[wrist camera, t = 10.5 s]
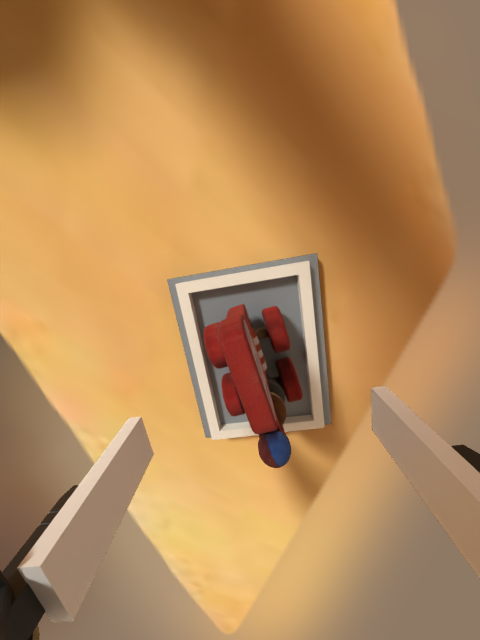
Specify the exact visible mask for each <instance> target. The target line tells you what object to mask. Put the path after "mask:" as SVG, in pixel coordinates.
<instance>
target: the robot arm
mask: <svg viewBox="0 0 480 640" xmlns="http://www.w3.org/2000/svg"><path fill="white" fill-rule="evenodd" d="M371 406H372V430H373V432H374V433H375V434H376V436H377V437H378V438H379V440H380V441H381V443H382V444H383V445H384V447H385V448H386V450H387V451H388V452H389V454H390V455H391V457H392V458H393V459H394V461H395V462H396V464H397V465H398V466H399V468H400V469H401V470H402V472H403V473H404V475H405V476H406V477H407V479H408V480H409V481H410V483H411V484H412V486H413V487H414V488H415V490H416V491H417V492H418V494H419V495H420V497H421V498H422V499H423V501H424V502H425V503H426V505H427V506H428V508H429V509H430V511H431V512H432V513H433V515H434V516H435V518H436V519H437V520H438V522H439V523H440V524H441V526H442V527H443V528H444V530H445V531H446V533H447V534H448V535H449V537H450V538H451V540H452V541H453V542H454V544H455V545H456V547H457V548H458V549H459V551H460V552H461V554H462V555H463V556H464V558H465V559H466V560H467V562H468V563H469V565H470V566H471V567H472V569H473V570H474V572H475V573H476V574H477V576H478V577H479V578H480V454H479V453H477V452H475V451H473V450H472V449H470V448H468V447H466V446H464V445H456V446H450V445H449V444H448V443H447V442H446V441H444V439H443V438H441V437H440V436H439V435H438V434H437V433H436V432H435V431H434V430H433V429H432V428H431V427H430V426H429V425H427V424H426V423H425V422H424V421H423V420H422V419H421V418H420V417H419V416H418V415H417V414H416V413H415V412H413V411H412V410H411V409H410V408H409V407H408V406H407V405H406V404H405V403H404V402H402V400H400V399H399V398H398V397H397V396H396V395H395V394H394V393H393V392H392V391H391V390H390V389H389V388H388V387H386V386H380V387H372V388H371ZM153 454H154V453H153V450H152V447H151V445H150V442H149V439H148V436H147V433H146V430H145V427H144V424H143V421H142V418H141V417H134V418H129V419H128V420H127V421H126V423H125V424H124V425H123V427H122V428H121V429H120V431H119V432H118V433H117V435H116V436H115V437H114V439H113V440H112V441H111V443H110V444H109V445H108V447H107V448H106V449H105V451H104V452H103V453H102V455H101V456H100V457H99V459H98V460H97V461H96V463H95V464H94V465H93V467H92V468H91V470H90V471H89V472H88V474H87V475H86V476H85V478H84V479H83V480H82V482H81V483H80V484H79V485H75V486H73V487H72V488H71V489H70V490H69V491H67V492H66V493H65V494H64V495H63V496H62V497H61V498H60V499H59V501H58V502H57V503H56V505H55V506H54V507H53V508H52V509H51V511H50V513H49V514H47V516H46V517H45V518H44V520H43V521H42V522H41V525H40V526H38V527H37V529H36V530H35V531H34V533H33V534H32V535H31V536H30V538H29V539H28V540H27V541H26V543H25V544H24V545H23V546H22V548H21V549H20V550H19V552H18V553H17V554H16V556H15V557H14V558H13V559H12V561H11V562H10V563H9V565H8V566H7V567H6V568H5V570H4V571H3V572H1V571H0V640H39V635H40V634H39V628H38V626H37V625H38V623H39V621H40V619H41V618H42V616H43V614H44V613H46V614H47V616H48V617H49V619H50V620H51V622H52V623H53V622H71V621H73V620H74V618H75V616H76V614H77V612H78V610H79V608H80V606H81V604H82V601H83V599H84V597H85V595H86V593H87V591H88V589H89V587H90V585H91V583H92V581H93V579H94V576H95V574H96V573H97V570H98V568H99V566H100V564H101V562H102V560H103V558H104V556H105V554H106V551H107V550H108V548H109V545H110V543H111V541H112V539H113V537H114V535H115V533H116V531H117V529H118V527H119V525H120V523H121V521H122V519H123V517H124V514H125V512H126V510H127V508H128V506H129V504H130V502H131V500H132V498H133V496H134V494H135V492H136V490H137V487H138V485H139V483H140V481H141V479H142V477H143V475H144V473H145V471H146V469H147V467H148V465H149V463H150V461H151V458H152V456H153Z"/></svg>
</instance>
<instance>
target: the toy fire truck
mask: <svg viewBox="0 0 480 640" xmlns="http://www.w3.org/2000/svg"><path fill="white" fill-rule="evenodd" d="M262 316H263V320H264V323H265V327H261V328H257V329H253V327H252V324H251V321H250V318H249V315H248V312H247V309H246V307H245V305H244V304H241V305H238V306H235V307H233V308H230V309H229V310H228V312H227V316H226V319H223V320H222V321H221V322H217V323H214V324H211V325H208V326H206V327H205V329H204V343H205V347H206V351H207V354H208V357H209V359H210V361H211V363H212V364H213V366H214V367H215V368H217V369H221V368H224V367H228V368H229V370H230V372H229V373H226V374H224V375H223V377H222V382H221V384H222V393H223V399H224V402H225V406H226V408H227V410H228V412H229V414H230V415H231V416H239V415H243V414H245V413H246V416H247V419H248V421H249V424H250V427H251V429H252V431H253V432H254V433H255V434H258V435H259V438H260V439H259V442H258V449H259V455H260V457H261V459H262V460H263V462H264V463H265V464H267V465H268V466H270V467H273V468H279V467H282V466H283V465H285V464H286V463H287V462H288V460H289V458H290V455H291V446H290V442H289V439H288V437H287V436H286V434H285V430H284V426H283V424H284V422H285V419H286V407H285V396H286V399H287V401H288V402H290V403H291V402H295V401H298V400H301V399H302V397H303V394H302V390H301V386H300V383H299V379H298V376H297V373H296V370H295V367H294V365H293V362H292V360H291V359H290V358H289V357H285V358H282V359H279V360H277V361H276V362H275V363H276V367H277V370H278V373H279V376H277V377H273V378H270V377H269V376H268V373H267V365H266V362H265V359H264V356H263V353H262V350H261V346H260V343H259V340H258V339H263V338H266V337H269V339H270V342H271V345H272V348H273V350H274V352H275V353H279V352H283V351H287V350H289V349H290V340H289V336H288V333H287V329H286V326H285V323H284V320H283V317H282V315H281V312H280V310H279V308H278V307H277V306H272V307H269V308H265V309H263V310H262Z"/></svg>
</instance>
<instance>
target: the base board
mask: <svg viewBox="0 0 480 640" xmlns="http://www.w3.org/2000/svg"><path fill="white" fill-rule="evenodd" d="M167 281H168V285H169V289H170V293H171V297H172V302H173V306H174V310H175V314H176V318H177V322H178V326H179V330H180V334H181V338H182V342H183V346H184V351H185V355H186V359H187V363H188V367H189V371H190V375H191V379H192V383H193V387H194V391H195V395H196V399H197V404H198V408H199V412H200V416H201V420H202V424H203V428H204V432H205V436H206V438H210V437H212V440H217V439H226V438H236V437H245V436H254V435H258V434H255V433H254V432H253V431H252V429H251V427H250V424H249V421H248V419H247V416H246V413H245V414H243V415H239V416H231V415H230V414H229V412H228V410H227V408H226V406H225V402H224V399H223V393H222V384H221V382H222V377H223V375H224V374H226V373H229V372H230V370H229V368H228V367H224V368H221V369H217V368H215V367H214V366H213V364H212V363H211V361H210V359H209V357H208V354H207V351H206V347H205V343H204V329H205V327H206V326H208V325H211V324H214V323H217V322H221V321H222V320H223V319H226V316H227V312H228V310H229V309H230V308H233V307H235V306H238V305H241V304H244V305H245V307H246V309H247V312H248V315H249V318H250V321H251V324H252V327H253V329H257V328H261V327H265V323H264V320H263V316H262V310H263V309H265V308H269V307H272V306H277V307H278V308H279V310H280V312H281V315H282V317H283V320H284V323H285V326H286V329H287V333H288V336H289V340H290V349H289V350H287V351H283V352H279V353H275V352H274V350H273V348H272V345H271V342H270V339H269V337H266V338H263V339H258V340H259V343H260V346H261V350H262V353H263V356H264V359H265V362H266V365H267V373H268V376H269V377H270V378H273V377H277V376H279V373H278V370H277V367H276V363H275V362H276V361H277V360H279V359H282V358H285V357H289V358H290V359H291V360H292V362H293V365H294V367H295V370H296V373H297V376H298V379H299V383H300V386H301V390H302V394H303V397H302V399H301V400H298V401H295V402H291V403H290V402H288V401H287V399H286V396H285V407H286V419H285V422H284V424H283V426H284V430H285V432H290V431H299V430H309V429H318V428H325V425H327V424H331V412H330V400H329V388H328V376H327V365H326V353H325V341H324V329H323V317H322V305H321V293H320V281H319V269H318V257H317V253H316V254H310V255H304V256H298V257H293V258H287V259H281V260H276V261H270V262H264V263H258V264H253V265H247V266H241V267H236V268H230V269H224V270H218V271H213V272H207V273H201V274H195V275H190V276H184V277H178V278H173V279H167Z"/></svg>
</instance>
